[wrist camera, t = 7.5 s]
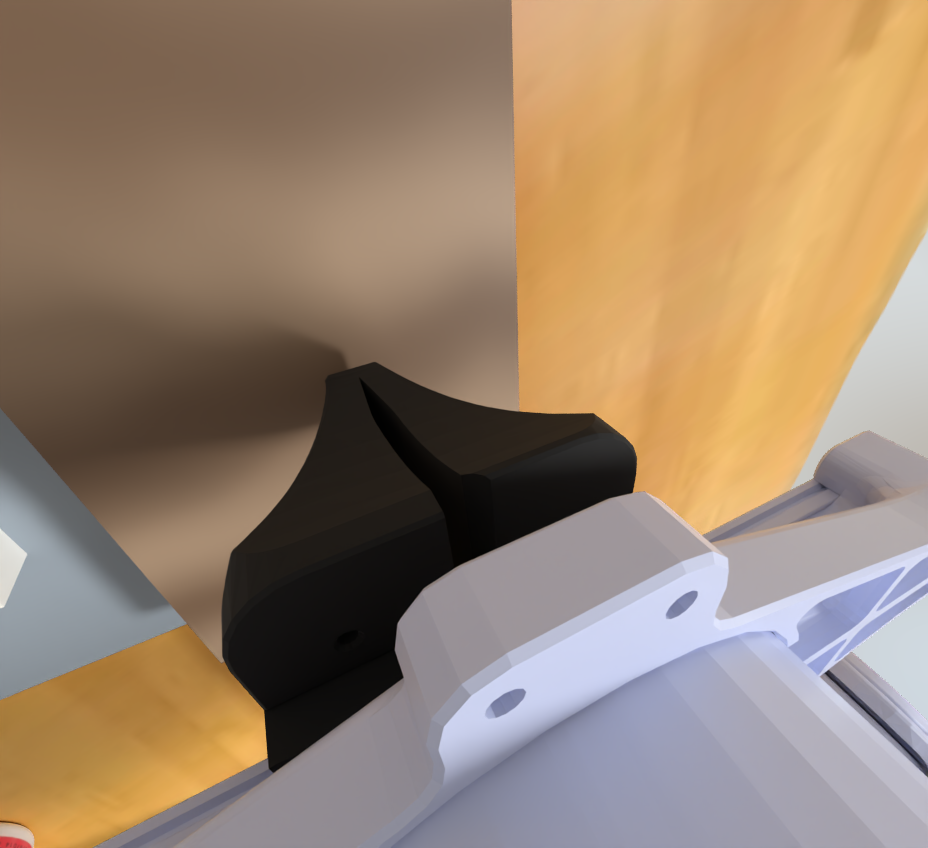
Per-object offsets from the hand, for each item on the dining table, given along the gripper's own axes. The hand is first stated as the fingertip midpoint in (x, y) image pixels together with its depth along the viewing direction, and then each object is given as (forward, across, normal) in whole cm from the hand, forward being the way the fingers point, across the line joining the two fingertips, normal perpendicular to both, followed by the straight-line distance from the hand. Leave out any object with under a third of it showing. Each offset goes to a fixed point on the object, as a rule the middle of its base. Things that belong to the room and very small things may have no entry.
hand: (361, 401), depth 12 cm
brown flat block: (+4, +1, 0) cm, 4 cm away
